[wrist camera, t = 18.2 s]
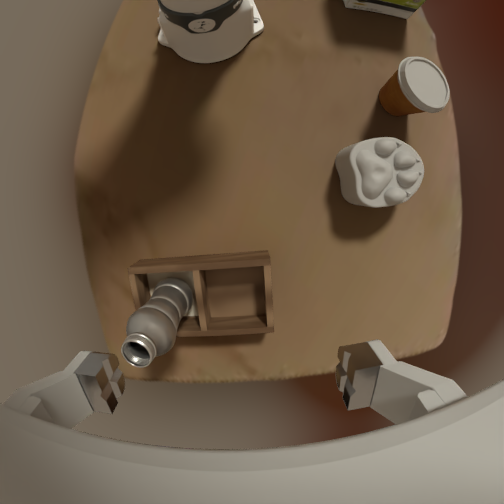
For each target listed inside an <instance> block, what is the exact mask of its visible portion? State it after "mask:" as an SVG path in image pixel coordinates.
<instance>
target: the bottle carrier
mask: <svg viewBox="0 0 504 504" xmlns="http://www.w3.org/2000/svg"><path fill="white" fill-rule="evenodd" d="M128 274H129V279H130V285H131V290H132V295H133V300H134V304H135V309H136V310H138V309H139V308H141V307H142V306H143V305H145V304H146V303H147V302H148V301H149V300H150V298H151V296H152V294H153V291H154V289H155V287H156V285H157V284H158V283H159V282H160V281H162V280H164V279H166V278H170V277H174V278H178V279H181V280H183V281H184V282H186V283H187V284H188V286H189V287H190V289H191V291H192V295H193V302H192V306H191V308H190V310H189V311H188V312H187V313H186V314H185V315H184V316H183V317H182V319H181V320H180V322H179V325H178V328H177V335H176V337H196V336H224V335H242V334H258V333H271V332H274V320H273V300H272V281H271V264H270V256H269V253H268V250H267V251H254V252H240V253H226V254H213V255H199V256H185V257H172V258H158V259H144V260H139V261H138V262H136V263H135V264H133V265H132V266H130V267H129V268H128Z"/></svg>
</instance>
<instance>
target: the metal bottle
mask: <svg viewBox="0 0 504 504" xmlns="http://www.w3.org/2000/svg"><path fill="white" fill-rule="evenodd" d="M192 302H193V295H192V291H191V289H190V287H189V286H188V284H187V283H186V282H184V281H183V280H181V279H178V278H174V277H170V278H166V279H164V280H162V281H160V282H159V283H158V284H157V285H156V287H155V289H154V291H153V294H152V296H151V298H150V300H149V301H148V302H147V303H146V304H145V305H143V306H142V307H141V308H139V309H138V310H136V311H135V312H134V313H133V314H132V315H131V316H130V317H129V319H128V322H127V327H126V332H127V338H126V339H125V342H124V343H123V344H122V347H121V352H122V355H123V357H124V358H125V360H126V361H127V362H128V363H130V364H131V365H133V366H135V367H139V368H143V367H147V366H148V365H149V364H150V363H151V362H152V360H153V359H154V358H155V356H161V355H163V354H165V353H167V352H168V351H169V350H171V348H172V347H173V345H174V343H175V340H176V335H177V328H178V325H179V322H180V320H181V319H182V317H183V316H184V315H185V314H186V313H187V312H188V311H189V310H190V308H191V306H192Z"/></svg>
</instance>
